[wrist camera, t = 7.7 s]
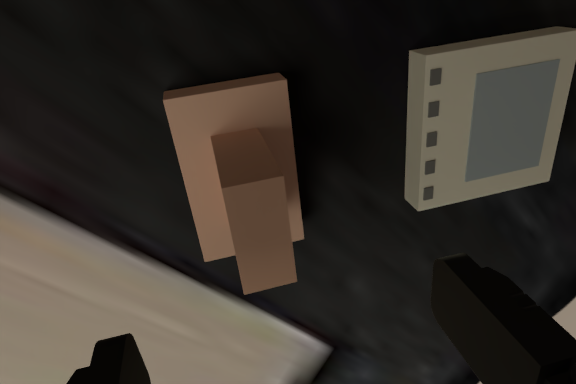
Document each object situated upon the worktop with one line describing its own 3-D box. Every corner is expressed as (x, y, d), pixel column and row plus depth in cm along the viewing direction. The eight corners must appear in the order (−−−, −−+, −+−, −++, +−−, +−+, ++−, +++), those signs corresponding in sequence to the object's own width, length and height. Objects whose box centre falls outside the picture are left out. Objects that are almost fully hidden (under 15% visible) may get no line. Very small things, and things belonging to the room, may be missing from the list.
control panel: (556, 26, 20) (584, 29, 19) (529, 170, 24) (550, 181, 23) (409, 50, 19) (427, 56, 18) (404, 198, 23) (419, 212, 22)
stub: (278, 72, 18) (324, 113, 12) (296, 223, 22) (337, 307, 16) (164, 91, 17) (158, 144, 12) (203, 244, 21) (212, 340, 16)
